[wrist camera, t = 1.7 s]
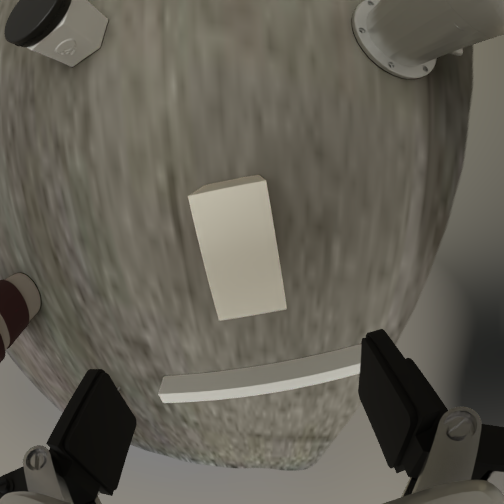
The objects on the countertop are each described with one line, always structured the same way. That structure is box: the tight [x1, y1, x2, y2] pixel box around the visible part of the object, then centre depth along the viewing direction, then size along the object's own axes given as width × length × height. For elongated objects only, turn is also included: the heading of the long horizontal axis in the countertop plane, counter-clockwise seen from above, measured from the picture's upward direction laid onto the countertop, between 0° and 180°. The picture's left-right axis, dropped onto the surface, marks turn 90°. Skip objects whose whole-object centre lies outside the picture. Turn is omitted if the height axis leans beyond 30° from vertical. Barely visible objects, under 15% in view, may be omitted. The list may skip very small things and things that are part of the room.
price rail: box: [158, 344, 361, 403], centre depth 37 cm, size 30×2×4 cm, turn 100°
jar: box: [5, 0, 108, 67], centre depth 17 cm, size 9×8×12 cm
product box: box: [188, 175, 287, 321], centre depth 27 cm, size 6×11×10 cm, turn 10°
